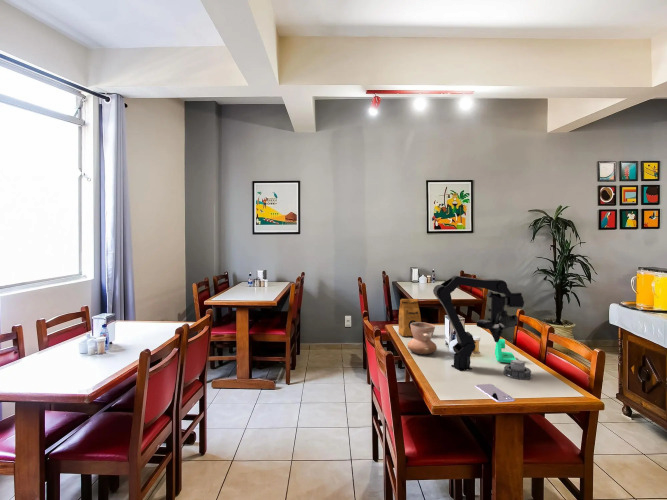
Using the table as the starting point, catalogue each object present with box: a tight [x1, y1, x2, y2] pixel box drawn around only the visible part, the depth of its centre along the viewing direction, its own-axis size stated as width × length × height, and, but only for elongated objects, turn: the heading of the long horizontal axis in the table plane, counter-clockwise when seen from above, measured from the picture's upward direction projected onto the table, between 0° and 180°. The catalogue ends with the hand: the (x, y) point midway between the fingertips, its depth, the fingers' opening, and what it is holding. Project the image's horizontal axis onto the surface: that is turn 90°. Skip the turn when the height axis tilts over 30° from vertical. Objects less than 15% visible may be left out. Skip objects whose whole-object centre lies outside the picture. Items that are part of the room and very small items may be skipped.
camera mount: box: [494, 338, 517, 364], centre depth 179 cm, size 12×8×10 cm, turn 164°
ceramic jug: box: [407, 321, 438, 355], centre depth 190 cm, size 18×14×14 cm
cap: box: [510, 359, 526, 372], centre depth 160 cm, size 5×5×5 cm
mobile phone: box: [474, 383, 516, 403], centre depth 141 cm, size 8×1×15 cm
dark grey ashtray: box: [502, 364, 533, 381], centre depth 160 cm, size 11×11×3 cm
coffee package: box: [398, 298, 422, 337], centre depth 222 cm, size 10×12×22 cm
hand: (496, 342), depth 167 cm, fingers closed
